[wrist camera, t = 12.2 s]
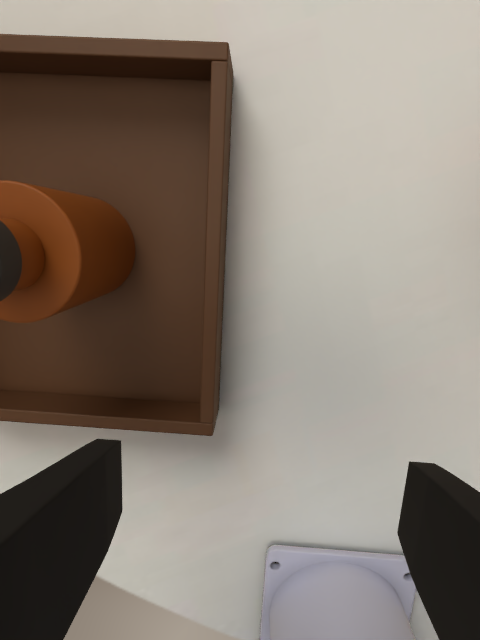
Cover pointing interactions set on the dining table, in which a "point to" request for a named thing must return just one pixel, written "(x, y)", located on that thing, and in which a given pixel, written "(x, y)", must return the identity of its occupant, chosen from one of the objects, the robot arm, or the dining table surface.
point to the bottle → (58, 251)
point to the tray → (142, 217)
